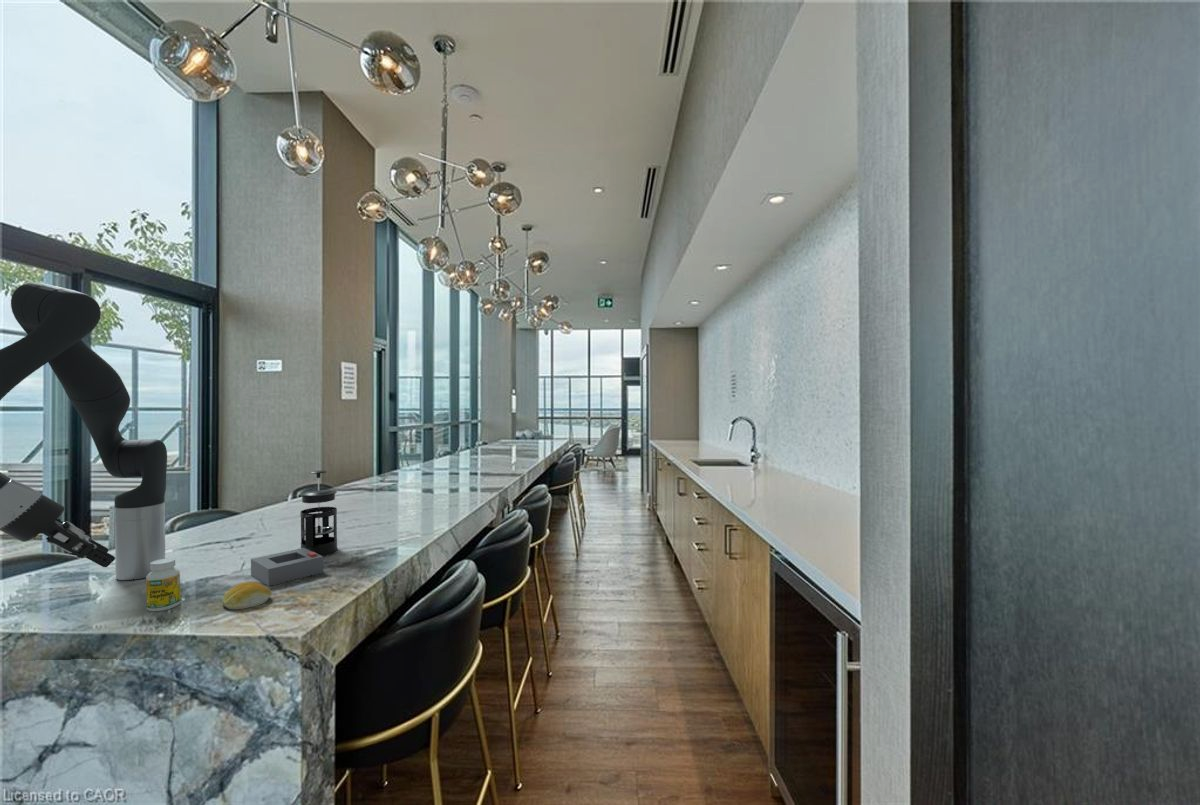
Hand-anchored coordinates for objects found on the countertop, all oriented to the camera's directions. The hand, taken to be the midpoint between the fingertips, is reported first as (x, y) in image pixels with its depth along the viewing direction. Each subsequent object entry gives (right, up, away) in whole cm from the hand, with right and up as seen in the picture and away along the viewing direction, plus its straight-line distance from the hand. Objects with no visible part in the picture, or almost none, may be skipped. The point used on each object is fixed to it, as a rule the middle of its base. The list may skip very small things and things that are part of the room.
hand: (107, 558), depth 101 cm
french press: (+18, -12, +43) cm, 48 cm away
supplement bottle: (+5, -12, +7) cm, 15 cm away
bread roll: (+21, -12, +9) cm, 26 cm away
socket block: (+19, -12, +26) cm, 35 cm away
